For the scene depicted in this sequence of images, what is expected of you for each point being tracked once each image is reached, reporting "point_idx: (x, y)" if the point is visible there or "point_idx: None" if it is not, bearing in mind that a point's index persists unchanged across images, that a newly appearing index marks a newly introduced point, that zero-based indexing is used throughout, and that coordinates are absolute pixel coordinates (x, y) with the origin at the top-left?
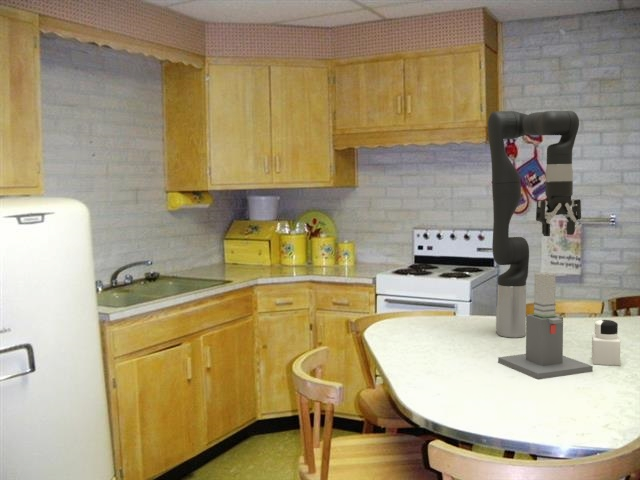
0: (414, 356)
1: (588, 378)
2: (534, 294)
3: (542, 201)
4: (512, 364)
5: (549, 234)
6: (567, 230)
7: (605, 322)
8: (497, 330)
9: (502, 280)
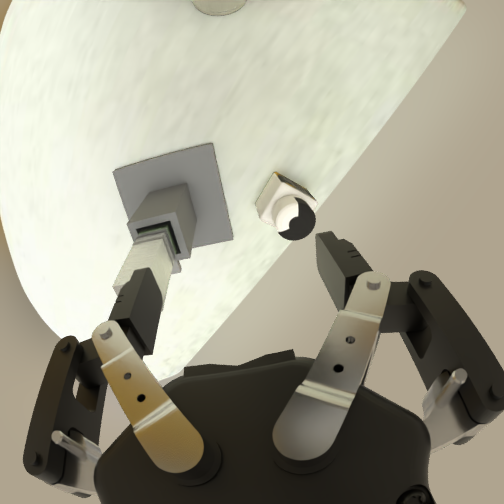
0: (22, 129)
1: (210, 261)
2: (128, 255)
3: (71, 489)
4: (124, 206)
5: (159, 305)
6: (322, 248)
7: (288, 233)
8: None
9: None
